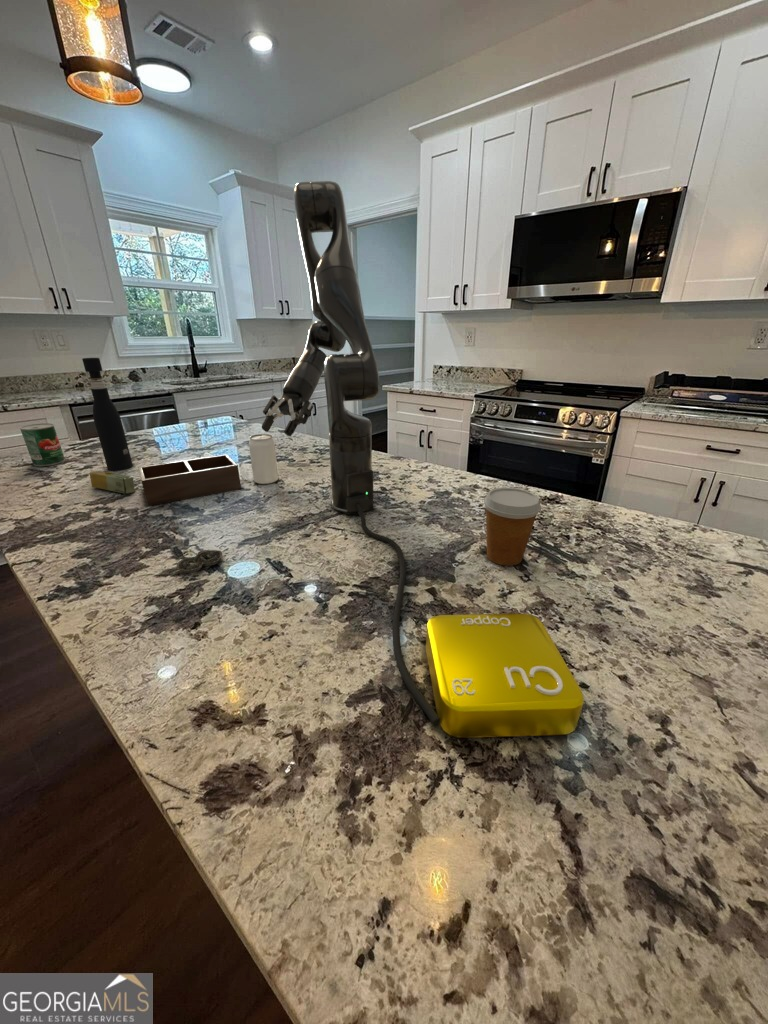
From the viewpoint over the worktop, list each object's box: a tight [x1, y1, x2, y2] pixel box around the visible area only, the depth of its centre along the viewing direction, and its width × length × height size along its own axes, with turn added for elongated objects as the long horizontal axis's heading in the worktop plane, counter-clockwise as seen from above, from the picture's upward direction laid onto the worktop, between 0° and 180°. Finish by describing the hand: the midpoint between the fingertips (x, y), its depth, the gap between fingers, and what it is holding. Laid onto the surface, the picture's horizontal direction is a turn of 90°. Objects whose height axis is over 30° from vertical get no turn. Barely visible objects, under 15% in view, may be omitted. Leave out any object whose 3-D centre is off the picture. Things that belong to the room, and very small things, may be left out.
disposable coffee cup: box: [483, 487, 542, 567], centre depth 74 cm, size 10×10×12 cm
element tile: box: [425, 613, 585, 739], centre depth 49 cm, size 15×15×5 cm
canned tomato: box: [19, 422, 66, 467], centre depth 123 cm, size 8×8×11 cm
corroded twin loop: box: [176, 549, 223, 573], centre depth 73 cm, size 5×8×1 cm, turn 139°
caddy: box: [137, 453, 242, 507], centre depth 105 cm, size 11×21×6 cm, turn 122°
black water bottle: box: [81, 357, 134, 471], centre depth 116 cm, size 6×6×30 cm
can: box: [248, 433, 279, 485], centre depth 110 cm, size 6×6×12 cm
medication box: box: [89, 470, 136, 495], centre depth 105 cm, size 12×3×4 cm, turn 70°
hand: (275, 432), depth 111 cm, fingers open, 8 cm apart
